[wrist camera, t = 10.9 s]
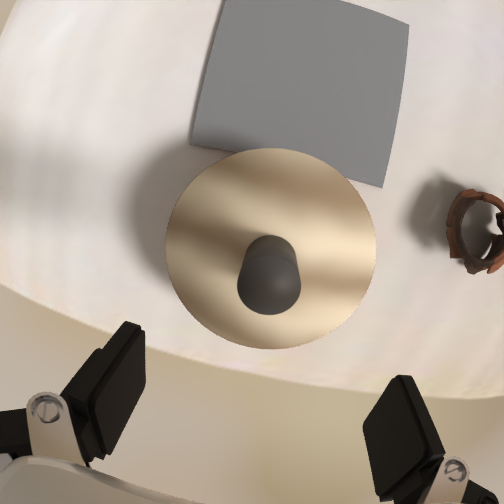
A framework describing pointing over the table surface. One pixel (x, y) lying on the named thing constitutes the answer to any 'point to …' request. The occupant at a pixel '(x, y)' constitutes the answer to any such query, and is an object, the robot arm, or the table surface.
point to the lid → (270, 248)
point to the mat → (305, 83)
